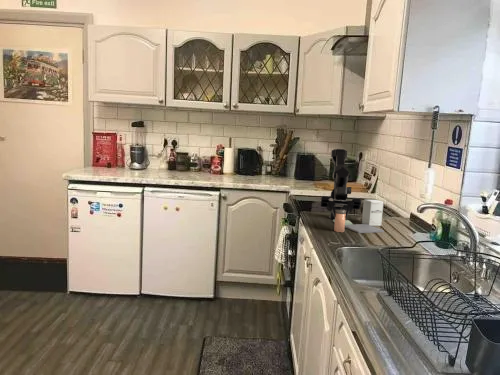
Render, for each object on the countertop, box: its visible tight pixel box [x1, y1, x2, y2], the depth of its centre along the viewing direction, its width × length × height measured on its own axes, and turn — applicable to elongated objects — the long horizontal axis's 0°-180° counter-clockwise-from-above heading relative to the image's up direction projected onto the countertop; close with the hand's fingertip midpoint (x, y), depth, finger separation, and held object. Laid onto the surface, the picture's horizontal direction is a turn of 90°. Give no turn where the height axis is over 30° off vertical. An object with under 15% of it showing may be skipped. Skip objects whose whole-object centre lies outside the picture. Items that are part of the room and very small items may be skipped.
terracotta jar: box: [333, 208, 347, 233], centre depth 207 cm, size 5×5×10 cm
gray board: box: [345, 223, 385, 234], centre depth 214 cm, size 14×14×1 cm
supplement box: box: [361, 199, 384, 227], centre depth 225 cm, size 7×7×13 cm
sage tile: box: [332, 219, 354, 225], centre depth 226 cm, size 8×8×1 cm
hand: (340, 217), depth 206 cm, fingers closed on terracotta jar, 5 cm apart
